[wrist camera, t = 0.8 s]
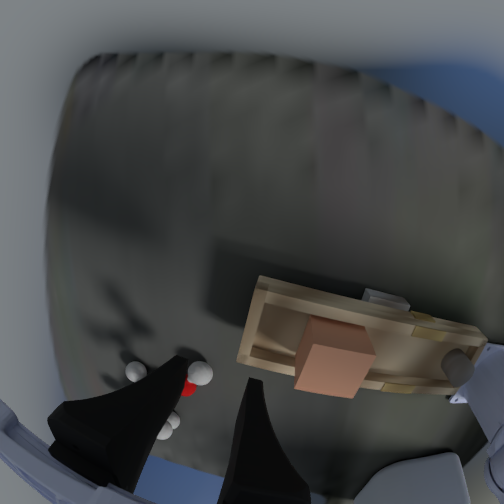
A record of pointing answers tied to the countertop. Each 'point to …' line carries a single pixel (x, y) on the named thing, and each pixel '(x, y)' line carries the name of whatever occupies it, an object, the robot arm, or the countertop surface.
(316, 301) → the wooden tray
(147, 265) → the countertop surface
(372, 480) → the plastic bottle
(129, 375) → the molecular model
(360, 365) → the pink cube
